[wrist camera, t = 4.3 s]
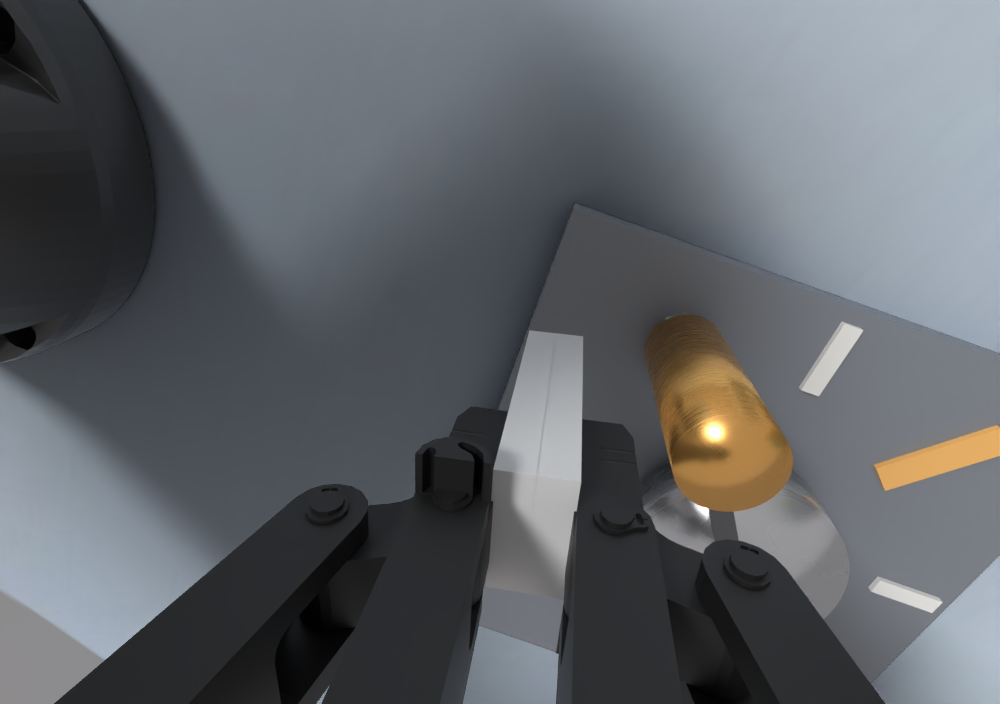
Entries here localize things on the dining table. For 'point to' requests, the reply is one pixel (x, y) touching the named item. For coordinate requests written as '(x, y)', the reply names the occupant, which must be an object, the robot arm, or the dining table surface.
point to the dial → (732, 463)
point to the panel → (796, 418)
